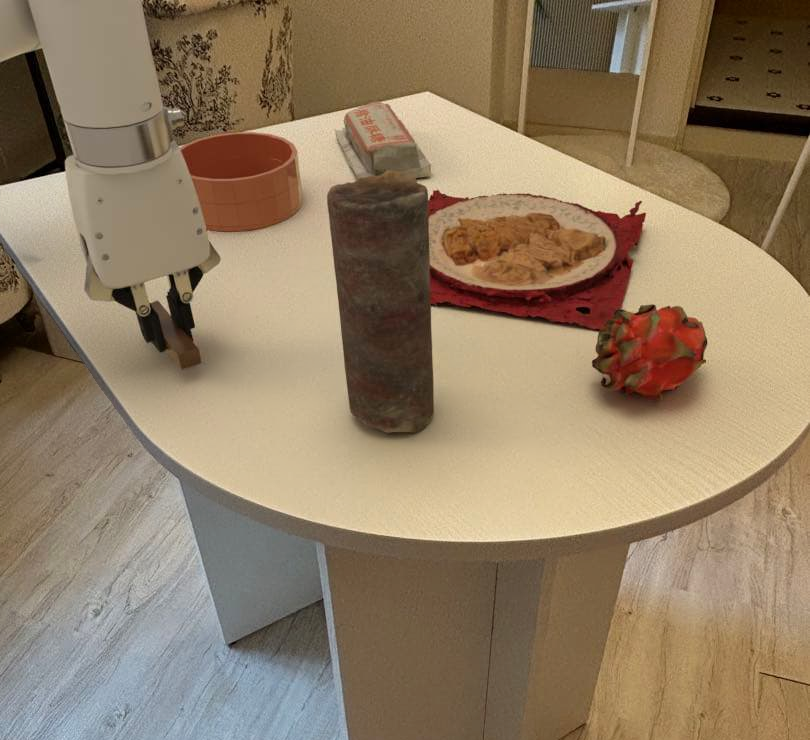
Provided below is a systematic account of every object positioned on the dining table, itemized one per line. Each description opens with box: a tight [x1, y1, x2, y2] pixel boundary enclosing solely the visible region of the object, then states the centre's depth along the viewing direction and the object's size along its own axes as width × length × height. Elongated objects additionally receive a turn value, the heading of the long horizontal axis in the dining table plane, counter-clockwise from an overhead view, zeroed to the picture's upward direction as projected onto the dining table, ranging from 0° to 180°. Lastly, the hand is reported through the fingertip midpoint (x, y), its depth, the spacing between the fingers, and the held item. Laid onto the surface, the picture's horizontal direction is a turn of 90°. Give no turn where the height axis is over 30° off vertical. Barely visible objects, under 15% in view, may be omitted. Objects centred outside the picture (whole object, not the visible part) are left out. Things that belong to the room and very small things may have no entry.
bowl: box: [179, 131, 303, 232], centre depth 98 cm, size 15×15×6 cm
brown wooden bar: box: [150, 300, 203, 371], centre depth 75 cm, size 10×2×2 cm, turn 33°
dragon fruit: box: [591, 303, 708, 404], centre depth 69 cm, size 8×8×12 cm
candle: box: [326, 170, 435, 434], centre depth 63 cm, size 8×7×20 cm
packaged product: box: [334, 101, 432, 180], centre depth 108 cm, size 18×5×10 cm
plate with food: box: [428, 189, 647, 331], centre depth 87 cm, size 24×26×3 cm
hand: (170, 339), depth 75 cm, fingers closed on brown wooden bar, 2 cm apart
